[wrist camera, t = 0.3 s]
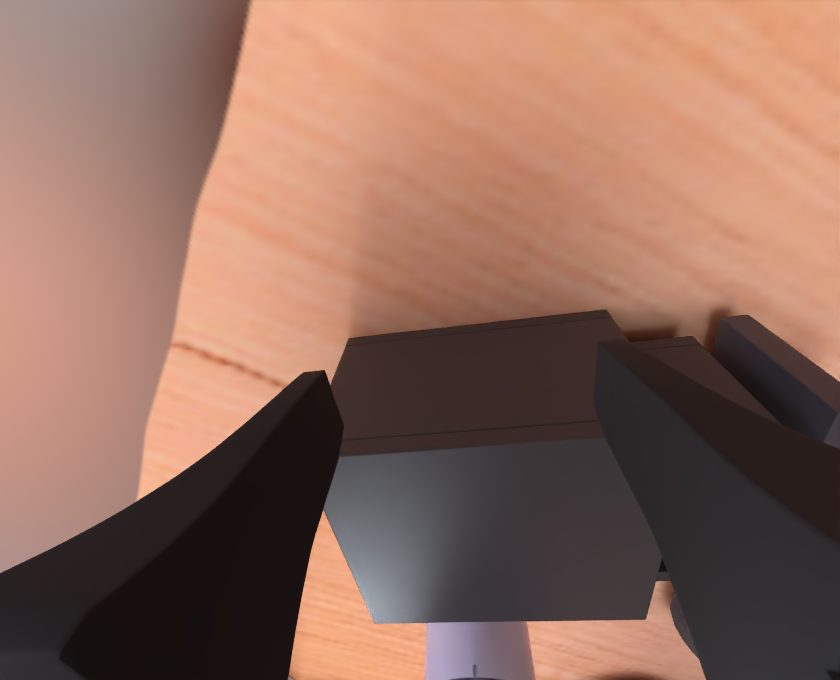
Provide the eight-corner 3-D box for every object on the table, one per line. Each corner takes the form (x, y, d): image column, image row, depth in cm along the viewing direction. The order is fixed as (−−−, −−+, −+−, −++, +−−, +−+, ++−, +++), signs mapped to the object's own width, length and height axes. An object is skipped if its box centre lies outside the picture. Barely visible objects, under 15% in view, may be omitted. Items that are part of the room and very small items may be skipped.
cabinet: (606, 309, 20) (696, 430, 13) (591, 476, 27) (646, 620, 19) (348, 338, 22) (300, 459, 15) (392, 488, 29) (374, 624, 21)
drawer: (847, 303, 18) (1029, 399, 13) (774, 470, 24) (877, 588, 19) (483, 341, 21) (498, 438, 15) (497, 486, 26) (511, 596, 21)
